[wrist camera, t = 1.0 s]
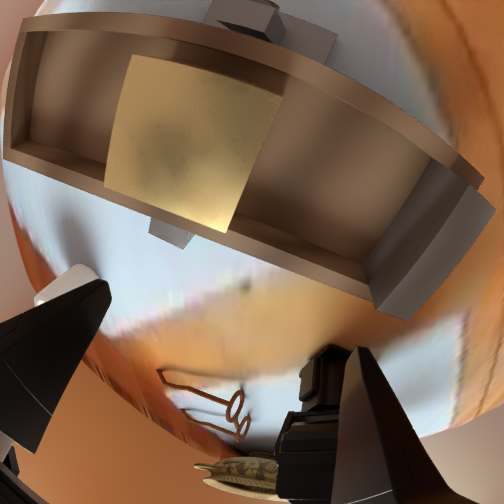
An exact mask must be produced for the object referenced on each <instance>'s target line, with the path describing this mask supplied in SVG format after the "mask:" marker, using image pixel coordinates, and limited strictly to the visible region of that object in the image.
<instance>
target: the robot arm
mask: <svg viewBox="0 0 504 504" xmlns="http://www.w3.org/2000/svg"><path fill="white" fill-rule="evenodd" d="M111 301H112V296H111V292H110V288H109V284H108V282H107V281H105V280H102V279H99V278H98V279H95V280H93V281H91V282H88V283H86V284H84V285H82V286H79V287H77V288H75V289H73V290H71V291H68V292H66V293H64V294H62V295H60V296H57V297H55V298H53V299H51V300H49V301H47V302H44V303H42V304H40V305H38V306H36V307H34V308H32V309H30V310H28V311H26V312H24V313H21V314H19V315H17V316H15V317H13V318H11V319H9V320H6V321H4V322H2V323H0V504H49V503H48V502H46V501H45V500H44V499H42V498H41V497H40V496H38V495H37V494H36V493H35V492H34V491H32V490H31V489H30V488H29V487H28V486H27V485H25V484H24V483H23V482H22V481H21V480H20V479H18V477H17V476H18V474H19V472H20V471H19V467H18V463H17V459H16V454H15V449H14V447H13V446H12V444H13V443H14V442H16V443H17V444H19V445H20V446H22V447H23V448H25V449H26V450H28V451H29V452H31V453H32V454H35V453H36V451H37V448H38V446H39V444H40V441H41V439H42V437H43V434H44V432H45V430H46V428H47V426H48V423H49V421H50V419H51V417H52V415H53V413H54V411H55V409H56V406H57V404H58V402H59V400H60V398H61V396H62V395H63V392H64V390H65V389H66V387H67V385H68V383H69V381H70V379H71V377H72V375H73V374H74V372H75V370H76V368H77V366H78V365H79V363H80V361H81V359H82V357H83V356H84V354H85V352H86V350H87V349H88V347H89V345H90V344H91V342H92V340H93V338H94V337H95V335H96V333H97V331H98V329H99V327H100V325H101V322H102V320H103V318H104V316H105V314H106V312H107V310H108V308H109V306H110V304H111ZM330 349H331V350H330ZM299 377H300V378H301V385H300V393H299V400H300V401H302V409H301V412H294V411H289V412H288V414H287V417H286V418H285V421H284V423H283V426H282V429H281V431H280V434H279V437H278V439H277V442H276V444H275V449H274V455H275V461H276V465H277V467H278V475H277V481H276V487H275V490H276V492H277V495H278V497H279V498H280V499H286V500H287V501H288V503H289V504H478V503H477V502H474V501H472V500H470V499H467V498H466V497H464V496H461V495H459V494H457V493H456V492H454V491H453V490H452V489H451V488H450V487H449V486H448V485H447V483H446V482H445V480H444V479H443V477H442V476H441V474H440V473H439V471H438V470H437V468H436V466H435V465H434V463H433V462H432V460H431V459H430V457H429V455H428V454H427V452H426V450H425V449H424V447H423V445H422V443H421V442H420V440H419V438H418V436H417V434H416V432H415V430H414V429H413V427H412V425H411V423H410V421H409V419H408V417H407V415H406V413H405V412H404V410H403V408H402V406H401V404H400V402H399V401H398V399H397V397H396V395H395V393H394V392H393V390H392V388H391V386H390V384H389V383H388V381H387V379H386V377H385V376H384V374H383V372H382V370H381V369H380V367H379V365H378V364H377V361H376V360H375V358H374V357H373V355H372V353H371V352H370V350H369V349H368V348H366V347H361V346H357V347H356V348H355V349H354V351H353V352H350V351H348V350H345V349H342V348H340V347H337V346H334V345H328V346H327V347H326V348H325V349H324V350H323V351H322V352H321V353H320V354H318V355H317V356H316V357H315V358H313V359H312V360H311V361H310V362H309V363H308V364H307V365H306V366H305V367H304V368H303V369H302V371H301V372H300V373H299Z"/></svg>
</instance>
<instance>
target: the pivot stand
mask: <svg viewBox="0 0 504 504" xmlns="http://www.w3.org/2000/svg"><path fill="white" fill-rule="evenodd" d="M278 10H279V6H278V5H277V4H275V3H273V2H271V1H269V0H213V2H212V4H211V6H210V8H209V10H208V12H207V14H206V17H205V19H204V21H203V23H202V24H207V25H211V26H215V27H219V28H223V29H227V30H231V31H234V32H238V33H241V34H245V35H248V36H251V37H254V38H257V39H260V40H263V41H266V42H269V43H272V44H275V45H277V46H280V47H283V48H285V49H288V50H290V51H293V52H295V53H298V54H300V55H303V56H305V57H307V58H309V59H312V60H314V61H316V62H318V63H321V64H323V65H324V62H325V60H326V58H327V56H328V54H329V52H330V50H331V48H332V46H333V44H334V42H335V40H336V38H337V35H338V34H335V33H333V32H331V31H329V30H326V29H324V28H321V27H319V26H317V25H314V24H311V23H309V22H306V21H304V20H301V19H298V18H295V17H292V16H289V15H286V14H283V13H280V12H278ZM148 233H150V234H152V235H154V236H156V237H158V238H160V239H162V240H164V241H166V242H169V243H171V244H173V245H175V246H177V247H179V248H181V249H184V248H185V246H186V245H187V244H188V243H189V241H190V240H191V239H192V237H193V236H194V235H195V234H193V233H191V232H188V231H186V230H183V229H180V228H178V227H175V226H173V225H170V224H168V223H165V222H162V221H160V220H157V219H155V218H152V217H151V222H150V227H149V232H148Z"/></svg>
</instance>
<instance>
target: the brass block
mask: <svg viewBox="0 0 504 504" xmlns="http://www.w3.org/2000/svg"><path fill="white" fill-rule="evenodd" d="M282 100H283V94H282V93H279V92H277V91H274V90H272V89H269V88H267V87H264V86H261V85H259V84H256V83H253V82H250V81H248V80H245V79H242V78H239V77H236V76H233V75H230V74H227V73H223V72H220V71H217V70H213V69H210V68H206V67H203V66H199V65H195V64H192V63H188V62H184V61H179V60H175V59H171V58H163V57H155V56H146V55H135V54H132V57H131V60H130V63H129V66H128V70H127V73H126V76H125V80H124V83H123V87H122V91H121V95H120V99H119V103H118V107H117V111H116V116H115V120H114V125H113V130H112V135H111V140H110V146H109V152H108V158H107V164H106V171H105V179H104V187H105V188H108V189H111V190H113V191H116V192H119V193H121V194H124V195H127V196H129V197H132V198H135V199H137V200H140V201H142V202H145V203H148V204H150V205H153V206H156V207H158V208H161V209H163V210H166V211H169V212H171V213H174V214H176V215H179V216H182V217H184V218H187V219H189V220H192V221H195V222H197V223H200V224H202V225H205V226H208V227H210V228H213V229H215V230H218V231H221V232H223V233H226V231H227V228H228V226H229V223H230V221H231V219H232V216H233V214H234V211H235V209H236V206H237V204H238V201H239V199H240V197H241V194H242V192H243V189H244V187H245V185H246V182H247V180H248V177H249V175H250V173H251V170H252V168H253V166H254V163H255V161H256V159H257V156H258V154H259V152H260V149H261V147H262V145H263V142H264V140H265V138H266V136H267V133H268V131H269V129H270V127H271V124H272V122H273V120H274V118H275V115H276V113H277V111H278V109H279V106H280V104H281V102H282Z"/></svg>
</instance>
